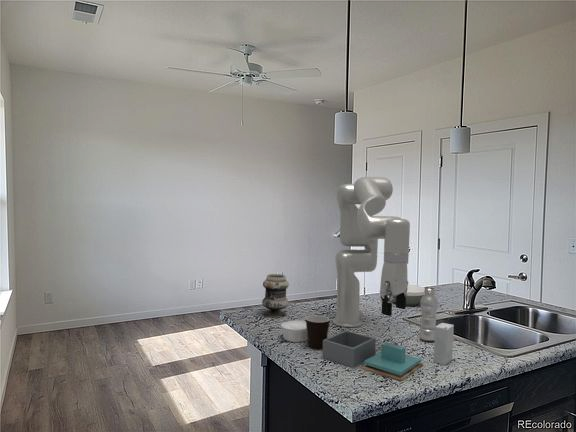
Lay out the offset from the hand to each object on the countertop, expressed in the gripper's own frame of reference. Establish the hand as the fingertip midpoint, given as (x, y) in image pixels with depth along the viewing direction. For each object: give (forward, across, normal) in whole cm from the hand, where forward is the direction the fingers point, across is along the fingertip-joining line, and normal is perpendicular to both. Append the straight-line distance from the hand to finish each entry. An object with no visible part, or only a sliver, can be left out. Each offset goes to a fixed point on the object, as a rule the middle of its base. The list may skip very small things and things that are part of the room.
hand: (393, 311), depth 131 cm
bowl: (+20, -80, -31) cm, 88 cm away
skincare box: (+18, -15, +11) cm, 26 cm away
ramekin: (+19, +1, -39) cm, 43 cm away
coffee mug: (+19, +1, -28) cm, 34 cm away
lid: (+16, +1, +1) cm, 16 cm away
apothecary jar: (+20, -17, -66) cm, 71 cm away
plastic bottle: (+19, -32, -1) cm, 37 cm away
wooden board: (+18, +1, +1) cm, 18 cm away
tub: (+18, +3, -14) cm, 23 cm away
